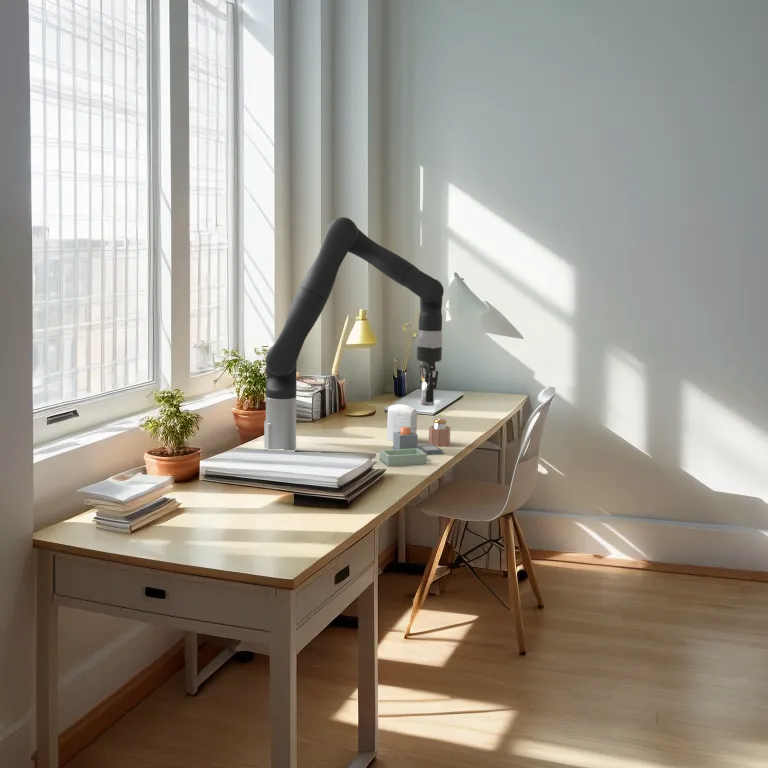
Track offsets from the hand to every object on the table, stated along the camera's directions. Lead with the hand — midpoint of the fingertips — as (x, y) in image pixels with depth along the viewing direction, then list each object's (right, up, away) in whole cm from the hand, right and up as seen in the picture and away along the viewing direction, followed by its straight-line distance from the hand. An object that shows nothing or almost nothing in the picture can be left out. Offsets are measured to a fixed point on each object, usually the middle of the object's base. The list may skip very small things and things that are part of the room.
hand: (427, 400), depth 271 cm
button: (-7, -13, +4) cm, 16 cm away
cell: (0, -1, 0) cm, 1 cm away
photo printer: (-8, -14, +19) cm, 25 cm away
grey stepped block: (-3, -16, +4) cm, 17 cm away
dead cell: (+4, -14, +15) cm, 21 cm away
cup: (+4, -15, +15) cm, 21 cm away
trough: (-8, -18, -8) cm, 21 cm away
